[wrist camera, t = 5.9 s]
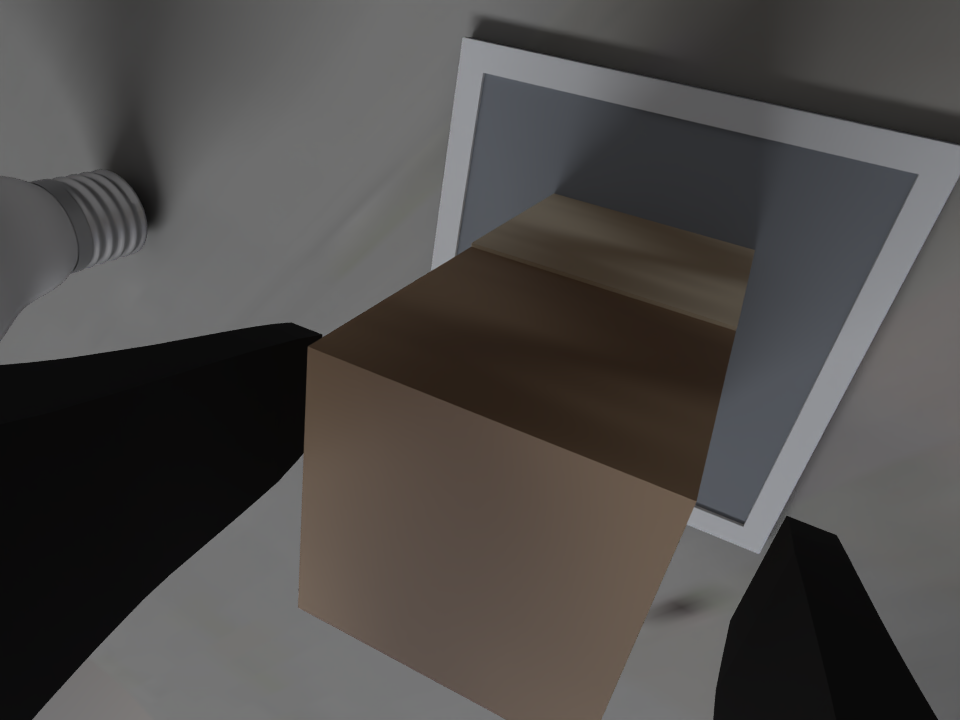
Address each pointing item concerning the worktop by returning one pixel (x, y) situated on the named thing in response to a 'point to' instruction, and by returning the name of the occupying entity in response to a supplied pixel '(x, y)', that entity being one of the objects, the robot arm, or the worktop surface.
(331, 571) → the walnut block
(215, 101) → the worktop surface
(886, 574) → the worktop surface
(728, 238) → the grey square tray
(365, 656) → the worktop surface
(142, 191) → the worktop surface
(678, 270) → the beech block
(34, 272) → the lightbulb
